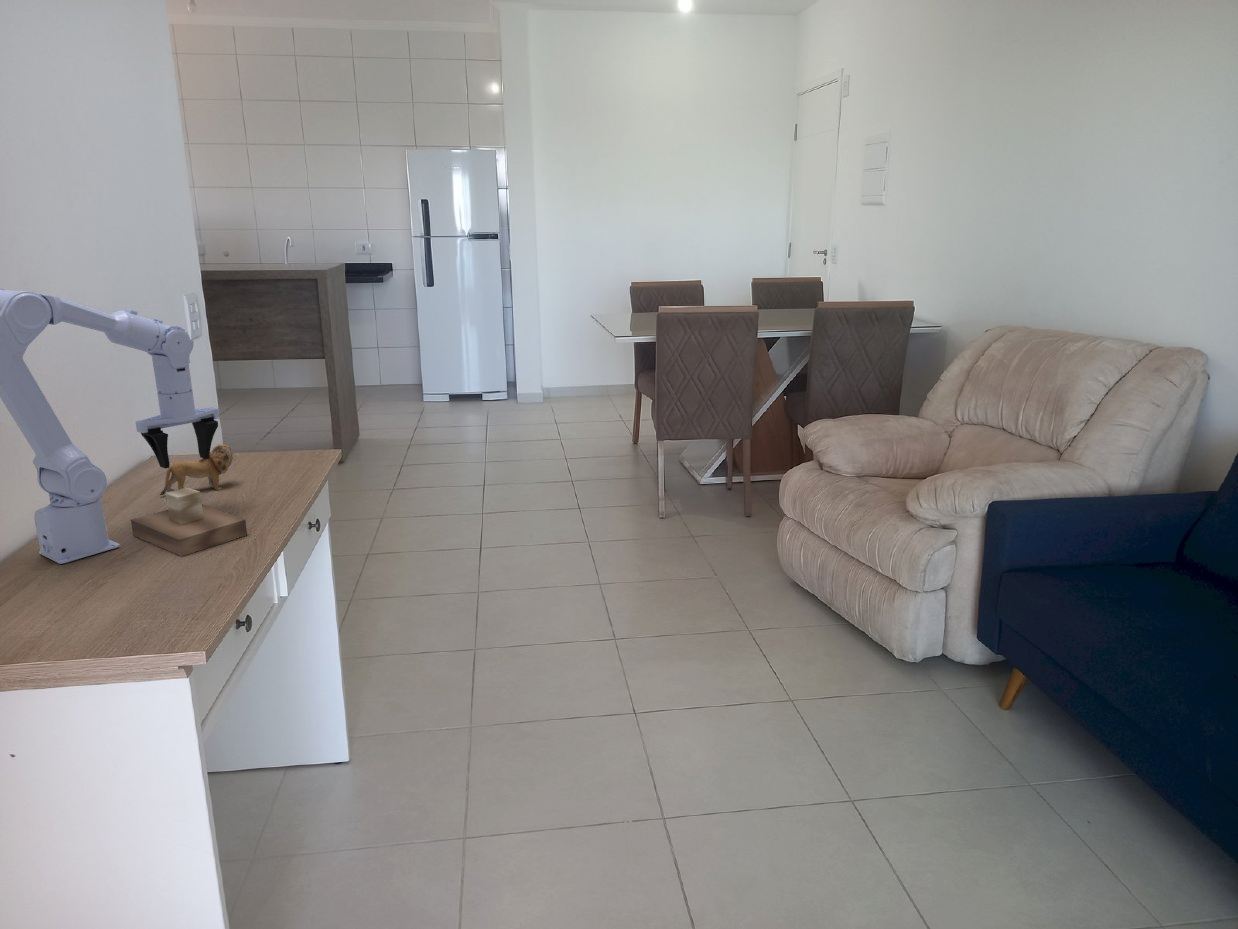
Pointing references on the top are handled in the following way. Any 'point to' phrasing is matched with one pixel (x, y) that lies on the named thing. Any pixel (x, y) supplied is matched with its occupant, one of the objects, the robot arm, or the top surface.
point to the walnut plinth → (189, 530)
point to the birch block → (184, 505)
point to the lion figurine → (200, 468)
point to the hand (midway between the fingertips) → (185, 462)
